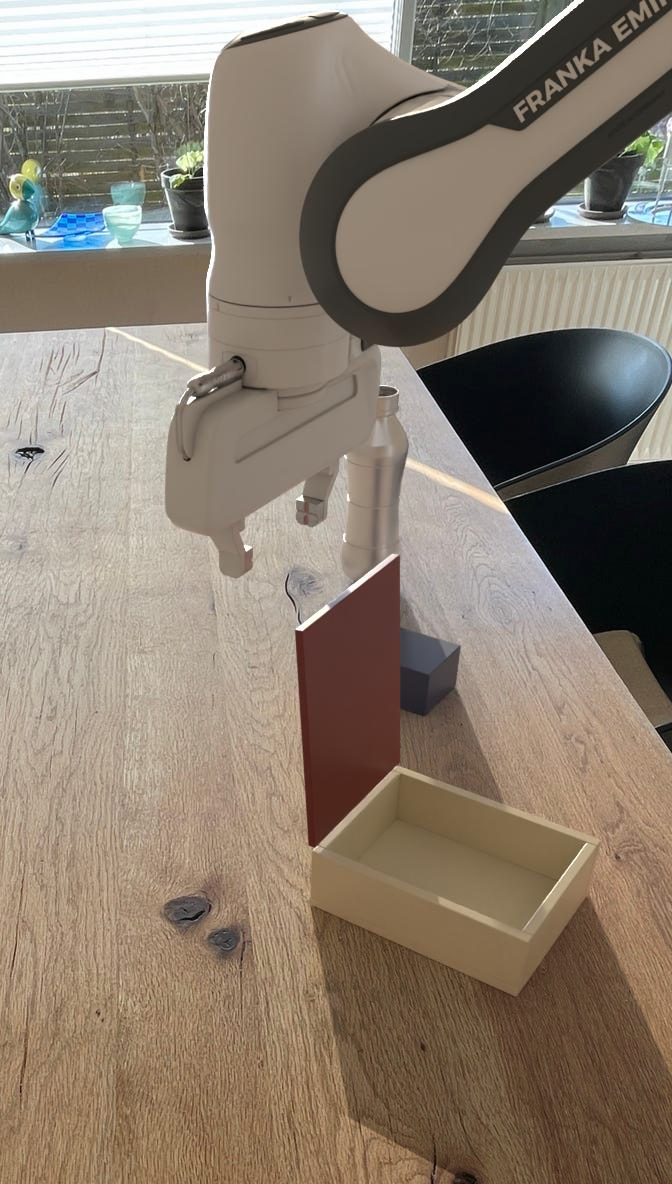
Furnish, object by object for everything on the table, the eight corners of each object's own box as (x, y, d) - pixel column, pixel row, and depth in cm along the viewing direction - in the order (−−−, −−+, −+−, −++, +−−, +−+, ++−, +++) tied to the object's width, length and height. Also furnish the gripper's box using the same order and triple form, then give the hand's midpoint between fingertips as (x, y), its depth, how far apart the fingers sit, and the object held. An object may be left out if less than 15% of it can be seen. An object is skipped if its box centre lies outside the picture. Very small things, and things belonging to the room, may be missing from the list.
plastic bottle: (385, 596, 121) (399, 406, 108) (328, 583, 124) (335, 396, 111) (409, 571, 125) (425, 385, 112) (353, 559, 128) (363, 376, 115)
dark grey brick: (456, 685, 107) (461, 645, 104) (424, 716, 104) (429, 675, 101) (363, 656, 112) (366, 616, 109) (331, 684, 108) (332, 644, 106)
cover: (400, 554, 79) (392, 553, 79) (302, 631, 71) (294, 629, 71) (400, 762, 89) (393, 760, 89) (315, 848, 81) (308, 846, 82)
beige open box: (588, 894, 85) (601, 839, 81) (516, 997, 77) (528, 942, 74) (392, 817, 93) (396, 764, 89) (309, 904, 85) (311, 850, 82)
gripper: (221, 396, 63) (225, 620, 72) (402, 305, 75) (386, 506, 84) (133, 376, 66) (147, 593, 75) (321, 292, 78) (313, 487, 87)
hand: (274, 546), depth 79 cm, fingers open, 8 cm apart
